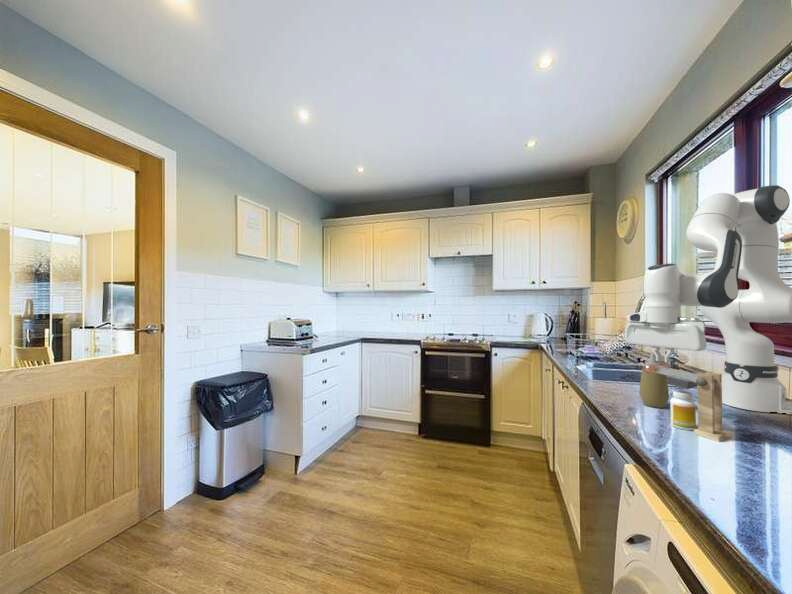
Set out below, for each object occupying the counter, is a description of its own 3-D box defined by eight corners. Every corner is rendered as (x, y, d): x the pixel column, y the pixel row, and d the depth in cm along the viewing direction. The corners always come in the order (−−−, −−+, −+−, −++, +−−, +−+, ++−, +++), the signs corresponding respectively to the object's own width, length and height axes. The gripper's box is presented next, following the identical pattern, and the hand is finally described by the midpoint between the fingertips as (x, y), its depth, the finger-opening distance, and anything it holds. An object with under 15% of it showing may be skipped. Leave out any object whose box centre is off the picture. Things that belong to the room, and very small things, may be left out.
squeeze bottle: (633, 401, 116) (632, 350, 116) (657, 402, 116) (656, 350, 116) (650, 409, 108) (649, 354, 108) (676, 409, 108) (675, 354, 108)
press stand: (707, 429, 91) (706, 371, 91) (732, 436, 86) (730, 374, 86) (693, 434, 88) (692, 373, 88) (718, 441, 83) (717, 377, 83)
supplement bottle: (700, 431, 90) (700, 395, 90) (678, 430, 91) (677, 394, 91) (687, 424, 95) (687, 390, 95) (666, 422, 96) (665, 389, 96)
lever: (661, 374, 103) (662, 361, 103) (723, 390, 90) (724, 375, 90) (642, 377, 99) (643, 364, 99) (703, 394, 86) (705, 379, 86)
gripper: (710, 317, 93) (711, 367, 93) (633, 315, 112) (633, 356, 112) (698, 318, 91) (699, 369, 90) (621, 315, 109) (622, 357, 109)
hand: (662, 362), depth 101 cm, fingers closed
